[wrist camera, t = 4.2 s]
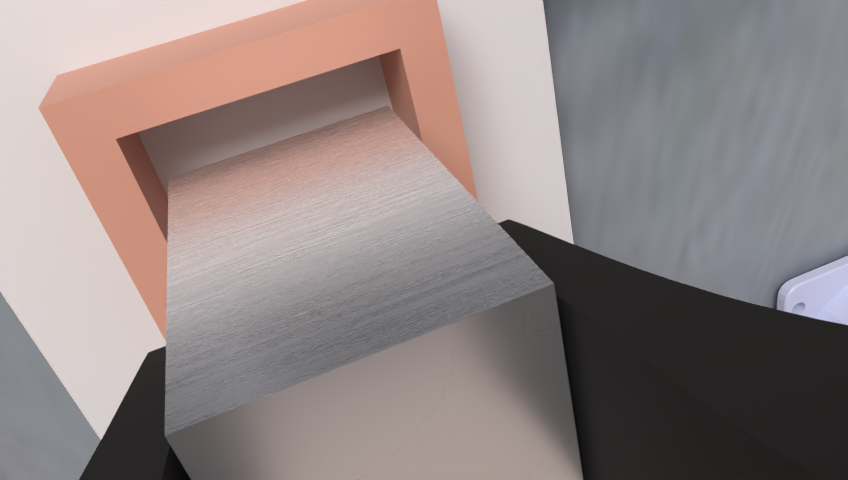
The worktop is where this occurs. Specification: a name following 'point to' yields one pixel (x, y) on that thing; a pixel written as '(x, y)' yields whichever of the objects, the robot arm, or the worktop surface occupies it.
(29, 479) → the worktop surface
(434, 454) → the column
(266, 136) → the stand base
